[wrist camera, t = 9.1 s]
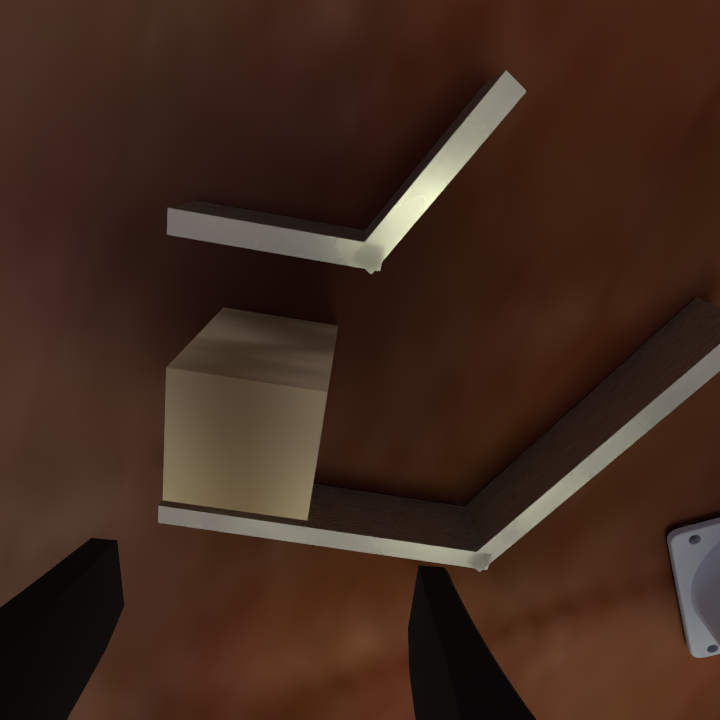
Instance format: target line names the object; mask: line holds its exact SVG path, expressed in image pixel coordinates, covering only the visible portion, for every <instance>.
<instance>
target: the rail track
mask: <svg viewBox="0 0 720 720" xmlns="http://www.w3.org/2000/svg"><path fill="white" fill-rule="evenodd" d="M525 93H526V90H525V89H524V88H523V87H522V86H521V85H520V84H519V83H518V82H517V81H516V80H515V79H514V78H513V77H512V76H511V75H510V74H509V73H508V72H507V71H504V72H502V73H501V74H499V75H498V76H496V77H494V78H493V79H491V80H490V81H488V82H486V83H485V84H484V85H483V86H482V87H481V88H480V90H479V91H478V92H477V93H476V95H475V96H474V97H473V98H472V99H471V101H470V102H469V103H468V104H467V106H466V107H465V108H464V109H463V111H462V112H461V113H460V114H459V115H458V117H457V118H456V119H455V120H454V122H453V123H452V124H451V125H450V126H449V128H448V129H447V130H446V131H445V133H444V134H443V135H442V136H441V138H440V139H439V140H438V141H437V142H436V144H435V145H434V146H433V147H432V149H431V150H430V151H429V152H428V153H427V155H426V156H425V157H424V158H423V160H422V161H421V162H420V163H419V165H418V166H417V167H416V168H415V169H414V171H413V172H412V173H411V174H410V176H409V177H408V178H407V179H406V180H405V182H404V183H403V184H402V185H401V187H400V188H399V189H398V190H397V191H396V193H395V194H394V195H393V196H392V198H391V199H390V200H389V201H388V203H387V204H386V205H385V206H384V207H383V209H382V210H381V211H380V212H379V214H378V215H377V216H376V217H375V218H374V220H373V221H372V222H371V223H370V225H369V226H368V227H367V228H366V230H361V229H356V228H350V227H344V226H339V225H333V224H327V223H322V222H316V221H310V220H304V219H299V218H293V217H287V216H282V215H276V214H270V213H265V212H259V211H253V210H248V209H242V208H236V207H231V206H225V205H219V204H214V203H208V202H202V201H193V202H189V203H185V204H181V205H177V206H173V207H169V208H168V213H167V235H172V236H178V237H183V238H189V239H195V240H201V241H207V242H213V243H218V244H224V245H230V246H236V247H242V248H247V249H253V250H259V251H265V252H271V253H276V254H282V255H288V256H294V257H300V258H305V259H311V260H317V261H323V262H329V263H334V264H340V265H346V266H352V267H358V268H363V269H365V270H366V271H368V272H369V273H370V274H372V273H373V272H374V271H380V269H381V264H382V261H383V260H384V259H385V258H386V257H387V256H388V254H389V253H390V252H391V251H392V250H393V248H394V247H395V246H396V245H397V244H398V243H399V241H400V240H401V239H402V238H403V237H404V235H405V234H406V233H407V232H408V231H409V230H410V228H411V227H412V226H413V225H414V224H415V222H416V221H417V220H418V219H419V218H420V217H421V215H422V214H423V213H424V212H425V211H426V209H427V208H428V207H429V206H430V205H431V204H432V202H433V201H434V200H435V199H436V198H437V197H438V195H439V194H440V193H441V192H442V191H443V189H444V188H445V187H446V186H447V185H448V184H449V182H450V181H451V180H452V179H453V178H454V176H455V175H456V174H457V173H458V172H459V171H460V169H461V168H462V167H463V166H464V165H465V163H466V162H467V161H468V160H469V159H470V158H471V156H472V155H473V154H474V153H475V152H476V150H477V149H478V148H479V147H480V146H481V145H482V143H483V142H484V141H485V140H486V139H487V137H488V136H489V135H490V134H491V133H492V132H493V130H494V129H495V128H496V127H497V126H498V125H499V123H500V122H501V121H502V120H503V119H504V117H505V116H506V115H507V114H508V113H509V112H510V110H511V109H512V108H513V107H514V106H515V104H516V103H517V102H518V101H519V100H520V99H521V97H522V96H523V95H524V94H525ZM719 371H720V307H718V306H716V305H714V304H711V303H709V302H706V301H704V300H702V299H699V298H697V297H696V298H695V299H694V300H692V301H691V302H690V303H689V304H688V305H687V306H686V307H685V308H684V309H682V310H681V311H680V312H679V313H678V314H677V315H676V316H675V317H674V318H672V319H671V320H670V321H669V322H668V323H667V324H666V325H665V326H664V327H662V328H661V329H660V330H659V331H658V332H657V333H656V334H655V335H654V336H652V337H651V338H650V339H649V340H648V341H647V342H646V343H645V344H644V345H642V346H641V347H640V348H639V349H638V350H637V351H636V352H635V353H634V354H633V355H631V356H630V357H629V358H628V359H627V360H626V361H625V362H624V363H623V364H621V365H620V366H619V367H618V368H617V369H616V370H615V371H614V372H613V373H611V374H610V375H609V376H608V377H607V378H606V379H605V380H604V381H603V382H601V383H600V384H599V385H598V386H597V387H596V388H595V389H594V390H593V391H591V392H590V393H589V394H588V395H587V396H586V397H585V398H584V399H583V400H581V401H580V402H579V403H578V404H577V405H576V406H575V407H574V408H573V409H572V410H570V411H569V412H568V413H567V414H566V415H565V416H564V417H563V418H562V419H560V420H559V421H558V422H557V423H556V424H555V425H554V426H553V427H552V428H550V429H549V430H548V431H547V432H546V433H545V434H544V435H543V436H542V437H540V438H539V439H538V440H537V441H536V442H535V443H534V444H533V445H532V446H530V447H529V448H528V449H527V450H526V451H525V452H524V453H523V454H522V455H520V456H519V457H518V458H517V459H516V460H515V461H514V462H513V463H512V464H511V465H509V466H508V467H507V468H506V469H505V470H504V471H503V472H502V473H501V474H499V475H498V476H497V477H496V478H495V479H494V480H493V481H492V482H491V483H489V484H488V485H487V486H486V487H485V488H484V489H483V490H482V491H481V492H479V493H478V494H477V495H476V496H475V497H474V498H473V499H472V500H471V501H469V502H468V503H467V504H466V505H465V506H458V505H451V504H444V503H438V502H431V501H424V500H418V499H411V498H404V497H398V496H391V495H384V494H378V493H371V492H364V491H358V490H351V489H344V488H338V487H331V486H324V485H318V484H313V489H312V495H311V501H310V507H309V514H308V520H300V519H293V518H286V517H278V516H271V515H264V514H257V513H250V512H243V511H236V510H228V509H221V508H214V507H207V506H200V505H193V504H185V503H178V502H171V501H164V500H163V499H162V501H161V503H160V504H159V511H158V523H165V524H172V525H179V526H186V527H192V528H199V529H206V530H213V531H220V532H227V533H234V534H241V535H248V536H255V537H262V538H269V539H276V540H283V541H290V542H297V543H304V544H310V545H317V546H324V547H331V548H338V549H345V550H352V551H359V552H366V553H373V554H380V555H387V556H394V557H401V558H408V559H415V560H421V561H428V562H435V563H442V564H449V565H456V566H463V567H470V568H475V569H476V570H478V571H479V572H480V571H482V570H483V569H484V570H487V569H488V566H489V564H490V563H491V562H492V561H493V560H495V559H496V558H497V557H498V556H499V555H501V554H502V553H503V552H504V551H505V550H507V549H508V548H509V547H510V546H511V545H513V544H514V543H515V542H516V541H517V540H519V539H520V538H521V537H522V536H523V535H525V534H526V533H527V532H528V531H529V530H530V529H532V528H533V527H534V526H535V525H536V524H538V523H539V522H540V521H541V520H542V519H544V518H545V517H546V516H547V515H548V514H550V513H551V512H552V511H553V510H554V509H556V508H557V507H558V506H559V505H560V504H562V503H563V502H564V501H565V500H566V499H568V498H569V497H570V496H571V495H572V494H573V493H575V492H576V491H577V490H578V489H579V488H581V487H582V486H583V485H584V484H585V483H587V482H588V481H589V480H590V479H591V478H593V477H594V476H595V475H596V474H597V473H599V472H600V471H601V470H602V469H603V468H605V467H606V466H607V465H608V464H609V463H611V462H612V461H613V460H614V459H615V458H616V457H618V456H619V455H620V454H621V453H622V452H624V451H625V450H626V449H627V448H628V447H630V446H631V445H632V444H633V443H634V442H636V441H637V440H638V439H639V438H640V437H642V436H643V435H644V434H645V433H646V432H648V431H649V430H650V429H651V428H652V427H654V426H655V425H656V424H657V423H658V422H659V421H661V420H662V419H663V418H664V417H665V416H667V415H668V414H669V413H670V412H671V411H673V410H674V409H675V408H676V407H677V406H679V405H680V404H681V403H682V402H683V401H685V400H686V399H687V398H688V397H689V396H691V395H692V394H693V393H694V392H695V391H697V390H698V389H699V388H700V387H701V386H702V385H704V384H705V383H706V382H707V381H708V380H710V379H711V378H712V377H713V376H714V375H716V374H717V373H718V372H719Z"/></svg>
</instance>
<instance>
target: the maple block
mask: <svg viewBox="0 0 720 720" xmlns="http://www.w3.org/2000/svg"><path fill="white" fill-rule="evenodd" d="M337 330H338V326H337V325H331V324H324V323H318V322H312V321H306V320H299V319H293V318H287V317H281V316H274V315H268V314H262V313H256V312H249V311H243V310H237V309H231V308H224V307H223V308H222V309H221V311H220V312H219V313H218V314H217V315H216V316H215V317H214V318H213V319H212V320H211V321H210V322H209V323H208V324H207V325H206V326H205V327H204V328H203V329H202V330H201V332H200V333H199V334H198V335H197V336H196V337H195V338H194V339H193V340H192V341H191V342H190V343H189V344H188V345H187V346H186V347H185V348H184V349H183V350H182V351H181V353H180V354H179V355H178V356H177V357H176V358H175V359H174V360H173V361H172V362H171V363H170V364H169V365H168V366H167V367H166V395H165V435H164V475H163V500H164V501H171V502H178V503H185V504H193V505H200V506H207V507H214V508H221V509H228V510H236V511H243V512H250V513H257V514H264V515H271V516H278V517H286V518H293V519H300V520H308V514H309V507H310V501H311V495H312V489H313V483H314V477H315V470H316V464H317V458H318V452H319V446H320V439H321V433H322V427H323V421H324V414H325V408H326V401H327V395H328V388H329V382H330V376H331V369H332V363H333V356H334V350H335V343H336V337H337Z"/></svg>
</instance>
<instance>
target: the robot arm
mask: <svg viewBox="0 0 720 720" xmlns="http://www.w3.org/2000/svg"><path fill="white" fill-rule="evenodd" d="M693 535H694V536H693ZM691 536H693V537H691ZM690 537H691V538H690ZM667 543H668V548H669V553H670V558H671V564H672V569H673V574H674V580H675V585H676V590H677V596H678V601H679V606H680V611H681V617H682V622H683V627H684V633H685V638H686V643H687V648H688V650H689V651H690V653H691V654H692V655H693V656H694V657H697V658H703V657H708V656H712V655H716V654H720V517H719V518H715V519H712V520H708V521H704V522H700V523H697V524H693V525H689V526H685V527H682V528H678V529H675V530H673V531H671V532H670V533H669V535H668V537H667ZM123 607H124V599H123V590H122V581H121V571H120V562H119V553H118V543H117V540H107V539H95V538H91V539H90V540H88V541H87V542H86V543H84V544H83V545H82V546H80V547H79V548H78V549H77V550H75V551H74V552H73V553H71V554H70V555H69V556H68V557H66V558H65V559H64V560H62V561H61V562H60V563H58V564H57V565H56V566H55V567H53V568H52V569H51V570H49V571H48V572H47V573H46V574H44V575H43V576H42V577H40V578H39V579H38V580H36V581H35V582H34V583H33V584H31V585H30V586H29V587H27V588H26V589H25V590H23V591H22V592H21V593H19V594H18V595H17V596H15V597H14V598H13V599H11V600H10V601H9V602H7V603H6V604H5V605H3V606H2V607H0V720H67V718H68V716H69V715H70V713H71V711H72V709H73V708H74V706H75V704H76V702H77V700H78V699H79V697H80V695H81V693H82V692H83V690H84V688H85V686H86V684H87V683H88V681H89V679H90V677H91V675H92V674H93V672H94V670H95V668H96V666H97V665H98V663H99V661H100V659H101V657H102V655H103V654H104V652H105V650H106V648H107V645H108V643H109V641H110V638H111V636H112V634H113V632H114V629H115V627H116V624H117V622H118V619H119V617H120V614H121V612H122V609H123ZM408 642H409V670H410V681H411V689H412V696H413V704H414V711H415V718H416V720H536V718H535V717H534V716H533V714H532V713H531V712H530V710H529V709H528V708H527V706H526V705H525V704H524V702H523V701H522V699H521V698H520V696H519V695H518V694H517V692H516V691H515V689H514V688H513V686H512V685H511V683H510V682H509V680H508V679H507V677H506V676H505V674H504V673H503V671H502V670H501V668H500V667H499V665H498V663H497V662H496V660H495V659H494V657H493V655H492V654H491V652H490V650H489V649H488V647H487V645H486V644H485V642H484V640H483V639H482V637H481V635H480V634H479V632H478V630H477V628H476V627H475V625H474V623H473V621H472V619H471V618H470V616H469V614H468V612H467V610H466V608H465V606H464V604H463V603H462V601H461V599H460V597H459V595H458V593H457V591H456V589H455V587H454V584H453V582H452V580H451V578H450V576H449V574H448V572H447V570H446V569H445V568H444V567H432V566H420V565H419V566H418V572H417V578H416V584H415V590H414V596H413V602H412V608H411V614H410V620H409V626H408Z"/></svg>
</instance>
